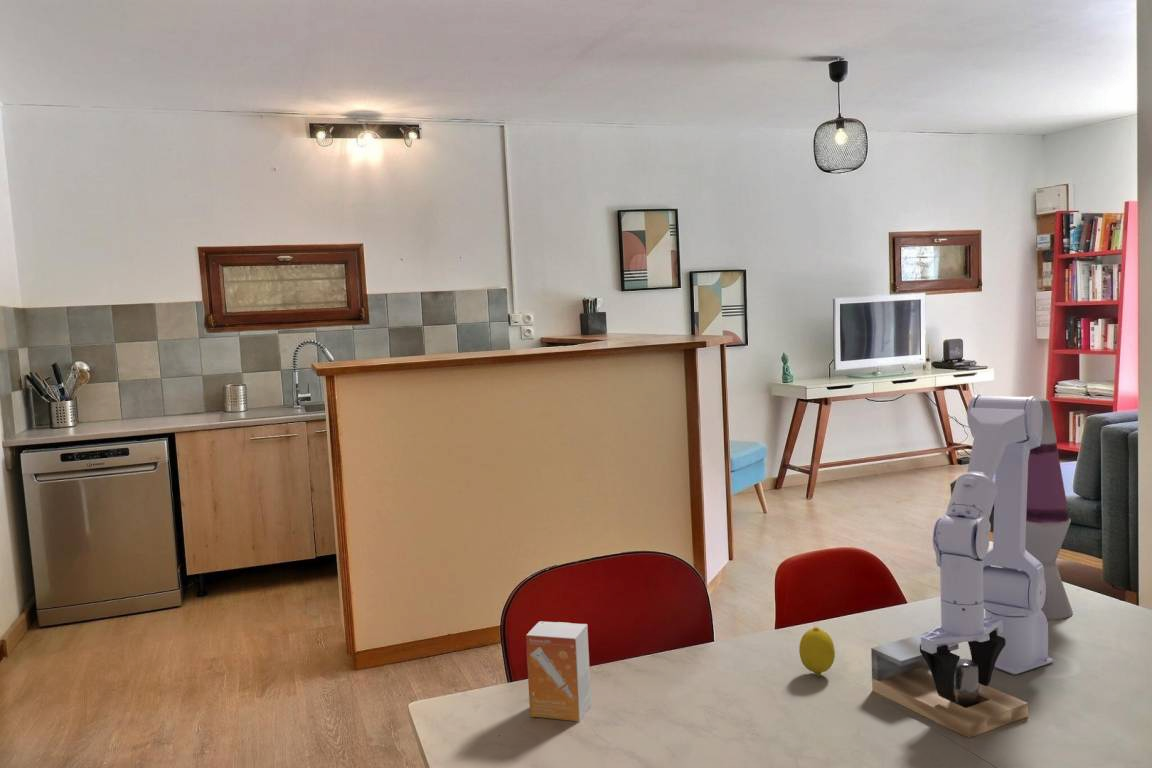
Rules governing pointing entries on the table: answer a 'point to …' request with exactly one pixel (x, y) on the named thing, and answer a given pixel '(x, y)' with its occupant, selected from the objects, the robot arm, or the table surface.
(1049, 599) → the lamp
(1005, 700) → the socket board
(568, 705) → the small box
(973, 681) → the peg
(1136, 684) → the table surface
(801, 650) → the lemon
